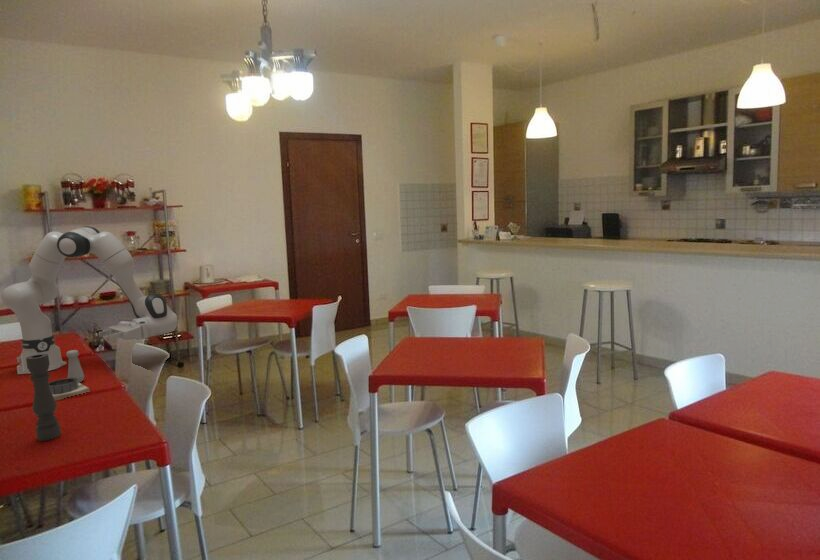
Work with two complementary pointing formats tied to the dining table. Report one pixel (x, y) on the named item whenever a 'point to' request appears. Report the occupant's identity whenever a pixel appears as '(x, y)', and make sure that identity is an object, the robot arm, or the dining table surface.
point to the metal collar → (63, 385)
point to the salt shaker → (74, 366)
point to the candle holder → (43, 398)
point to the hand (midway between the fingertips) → (104, 335)
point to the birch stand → (72, 392)
